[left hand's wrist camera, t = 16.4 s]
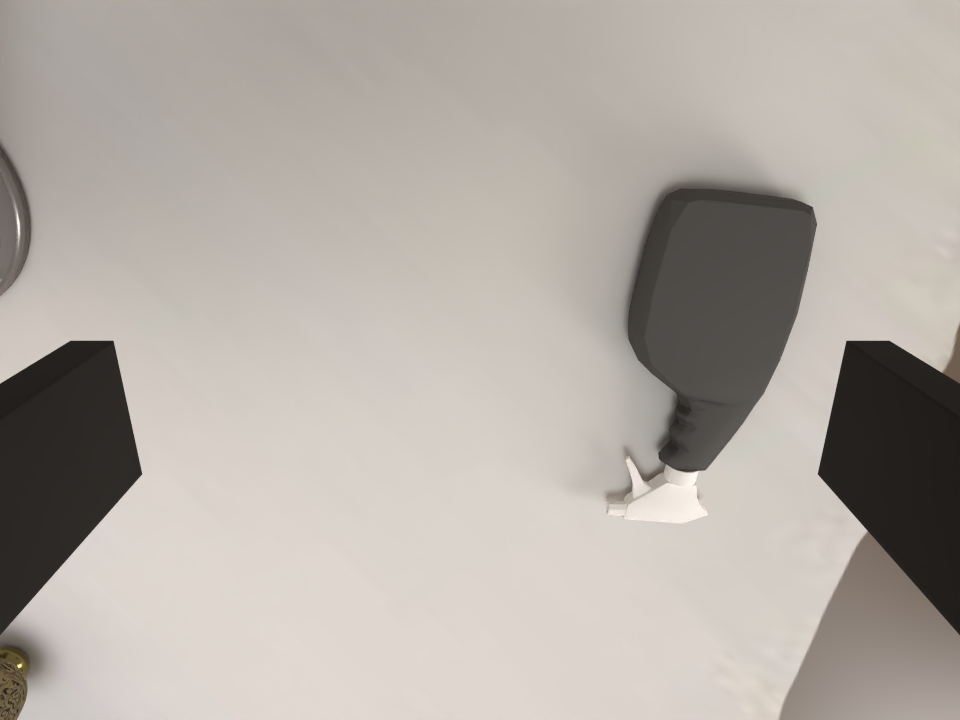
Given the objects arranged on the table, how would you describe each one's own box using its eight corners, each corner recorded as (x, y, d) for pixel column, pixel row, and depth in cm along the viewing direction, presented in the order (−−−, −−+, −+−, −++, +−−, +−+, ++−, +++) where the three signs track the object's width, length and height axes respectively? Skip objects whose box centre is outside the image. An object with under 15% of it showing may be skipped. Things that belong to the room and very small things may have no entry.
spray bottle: (817, 200, 43) (721, 514, 53) (651, 180, 43) (584, 501, 52) (839, 208, 41) (734, 538, 50) (663, 187, 40) (590, 524, 50)
